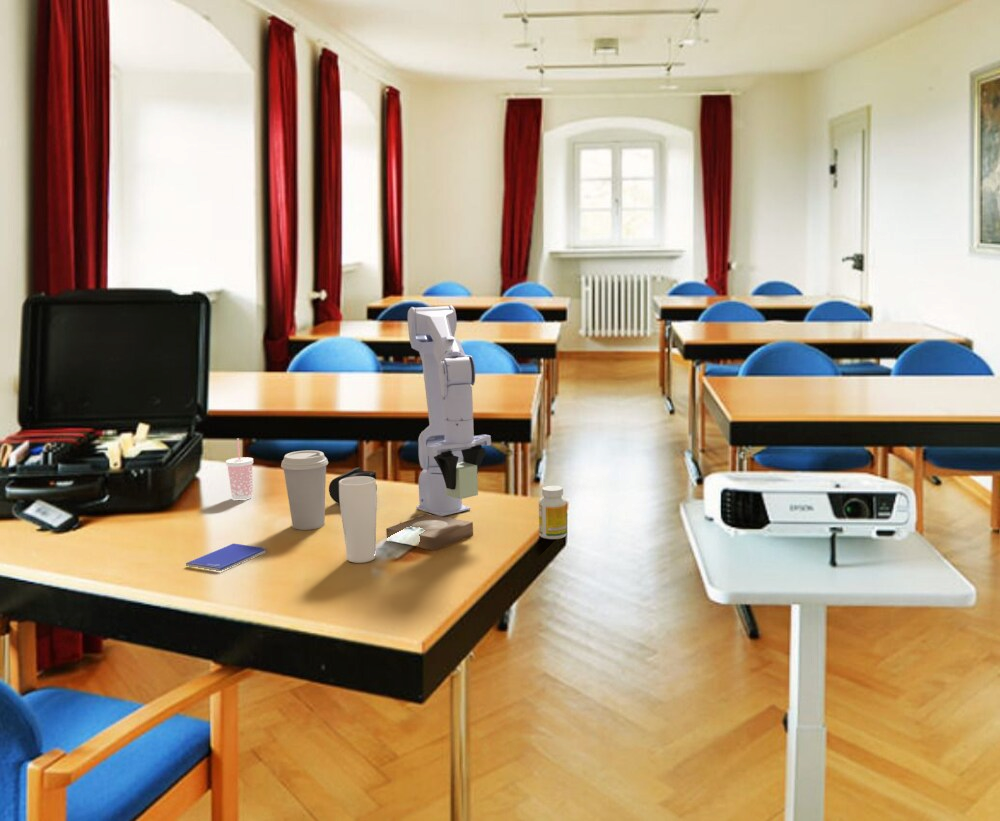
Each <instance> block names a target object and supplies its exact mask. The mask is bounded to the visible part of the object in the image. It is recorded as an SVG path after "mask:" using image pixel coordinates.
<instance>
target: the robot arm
mask: <svg viewBox="0 0 1000 821" xmlns="http://www.w3.org/2000/svg"><path fill="white" fill-rule="evenodd" d="M457 320H458V319H457V313H456V308H454V306H453V305H451V304H449V305H447V306H446V305H443V306H442V305H441V306H425V307H423V306H422V307H421V306H420V307H419V306H418V307H414V306H411V307H410V308H409V309H408V311H407V329H408V338H409V342H410V346H411V349H413V350H414V351H416V352H418V354H419V356H420V359H421V362H422V363H421V364H422V370H423V371H422V372H423V380H424V389H425V397H426V405H427V414H428V416H427V417H428V422H429V423H428V424H429V425H428V426H427V427H425V429H424V430H422V431H421V433H419V436H418V440H417V441H418V461H419V465H420V468H421V469H422V471H421V472H420V474H419V476H418V499H419V500H418V502H419V505H417V506H415V508H416V509H417V510H421V511H424V512H427V513H429V514H431V515H435V516H441V517H446V516H450V515H453V514H457V513H461V512H466V511H470V510H471V506H467V505H465V504H463V502H462V501H463V499H457V498H454V497H450V496H447V495H446V488H448V489H451V490H454V489H455V488H456V467H457V463H460V462H465V463H469V464H474V465H477V475H478V473H479V470H480V466H481V464H482V461H483V460H484V458H485V455H486V454H487V449H486V448H484V447H483V446H488V447H489V446H491V445H492V438H491V437H492V436H491V435H489V434H479V435H475V434H474V433H475V432H474V406H473V404H474V403H473V386H474V385H475V383H476V367H475V366H476V365H475V361H474V358H473V356H472V355H469V354H466V353H465V350H464V349H463V346H462V344H461V342H460V341H459V339H458V338H457V337H455V334H456V331H457V327H458V326H457V323H458V322H457Z"/></svg>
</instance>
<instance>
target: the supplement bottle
mask: <svg viewBox="0 0 1000 821" xmlns="http://www.w3.org/2000/svg"><path fill="white" fill-rule="evenodd" d="M541 489H542V492H541V495H542V496H543V497H540V499H539V501H538V529H539V531H538V533H539V536H540V537H541V538H543V539H547V540H561V539H562V538H565V537H566V536H567V534H568V531H567V530H568V526H567V524H568V523H567V521H568V520H567V516H568V515H567V512H568V511H567V505H568V504H567V500H566V498H565V497H563V495H564V488H563V486H560V485H547V486H543V487H542V488H541Z"/></svg>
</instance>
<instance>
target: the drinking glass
mask: <svg viewBox="0 0 1000 821" xmlns="http://www.w3.org/2000/svg"><path fill="white" fill-rule="evenodd" d="M376 484H377V483H376V479H374V478H373V477H368V476H354V477H348V478H344V479H341V480H340V481H339V501H340V505H339V509H340V515H341V522H342V529H343V536H344V542H345V543H344V544H345V549H346V550H345V552H346V554H345V555H346V560H347V561H348V562H350V563H354V564H364V563H369V562H372V561H373V560H375V559H376V557H375V556H374V554H375V551H376V552H377V550H376V544H377V543H376V541H377V540H376V539H377V515H378V514H377V510H378V508H377V506H378V500H377V499H378V497H377V496H378V495H377V494H378V493H377V492H376Z"/></svg>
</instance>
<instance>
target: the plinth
mask: <svg viewBox="0 0 1000 821" xmlns="http://www.w3.org/2000/svg"><path fill="white" fill-rule="evenodd" d="M410 526H412V527H420V528H423V529H424V530H425V531H424V532H423V533H421V534H419V536H420V542H419V545H418V546H419V547H420V548H419V547H418V548H419V549H424V550H429V549H430V551H437V550H440V549H442V548H445V547H447V546H448V545H449V546H450V545H451V544H454V543H456V542H458V541H460V540H464V539H465V538H468V537H470V536H473V535H474V522H473V521H468V520H463V519H459V518H458V519H456V518H451V517H446V516H438V515H435V514H430V513H429V514H427V513H424V514H422V515H419V516H416V517H414V518H411V519H409V520H406V521H403V522H400V523H397V524H396V525H395V524H394V525H393V526H389V527H387V528H386V529H385V531H386V539H387V538H388V537H390V536H391V535H393V534H395V533H397V532H399V531H401V530H403V529H404V528H406V527H410Z"/></svg>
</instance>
